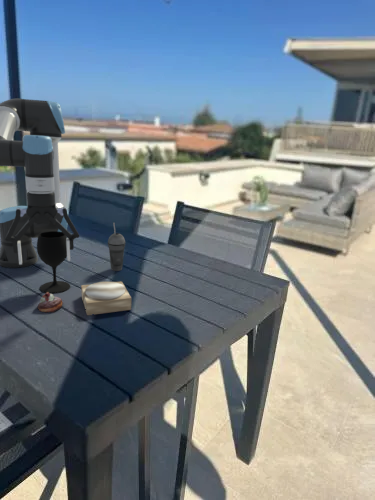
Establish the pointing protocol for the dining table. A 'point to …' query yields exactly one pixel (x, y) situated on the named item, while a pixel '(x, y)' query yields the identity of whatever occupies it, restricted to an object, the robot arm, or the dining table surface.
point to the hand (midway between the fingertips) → (45, 261)
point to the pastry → (49, 303)
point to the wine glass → (53, 258)
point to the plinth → (105, 297)
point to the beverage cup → (116, 250)
